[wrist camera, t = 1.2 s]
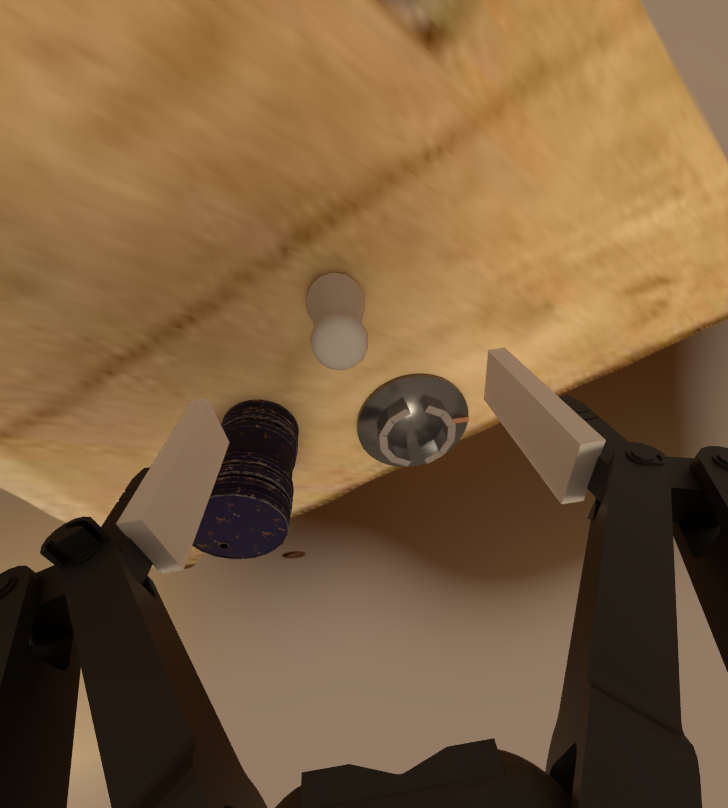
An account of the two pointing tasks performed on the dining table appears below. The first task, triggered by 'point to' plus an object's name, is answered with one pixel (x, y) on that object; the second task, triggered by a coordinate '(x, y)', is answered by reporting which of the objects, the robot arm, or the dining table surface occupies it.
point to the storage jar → (251, 483)
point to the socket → (412, 420)
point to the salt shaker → (337, 321)
